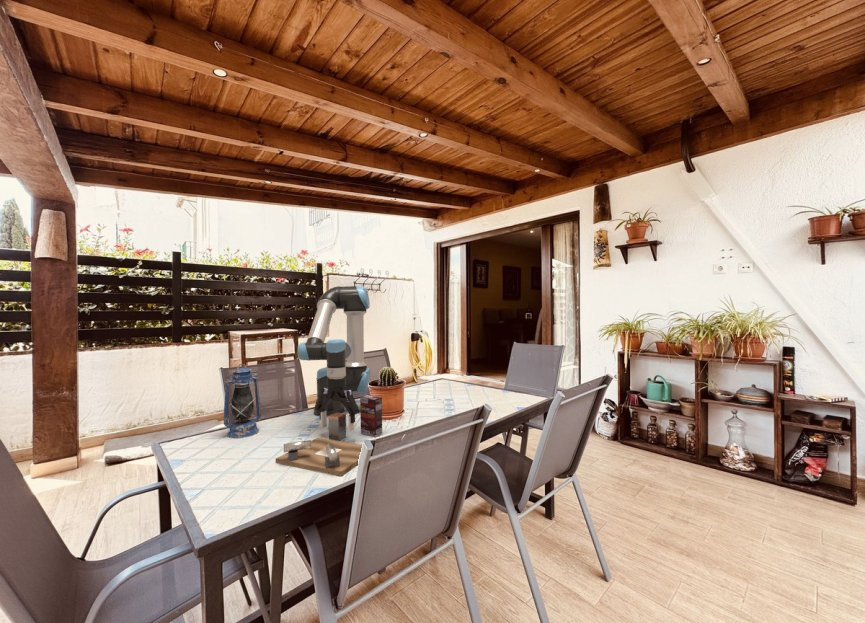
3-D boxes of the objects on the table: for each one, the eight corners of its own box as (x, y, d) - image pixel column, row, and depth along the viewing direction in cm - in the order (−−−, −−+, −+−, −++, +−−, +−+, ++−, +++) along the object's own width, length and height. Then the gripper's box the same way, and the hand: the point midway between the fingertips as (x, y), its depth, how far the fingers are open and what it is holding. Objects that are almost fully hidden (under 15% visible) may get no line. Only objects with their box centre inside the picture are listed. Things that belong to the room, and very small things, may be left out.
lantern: (230, 441, 152) (228, 368, 151) (218, 434, 160) (216, 365, 159) (267, 431, 164) (265, 363, 163) (255, 425, 172) (253, 360, 171)
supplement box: (360, 434, 159) (359, 396, 159) (367, 430, 163) (367, 394, 163) (375, 437, 154) (375, 399, 154) (383, 434, 158) (382, 396, 158)
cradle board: (317, 441, 151) (317, 436, 151) (377, 450, 140) (377, 446, 140) (275, 462, 131) (275, 457, 131) (341, 476, 120) (341, 470, 120)
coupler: (336, 436, 157) (335, 412, 157) (346, 437, 155) (346, 413, 155) (328, 440, 152) (328, 415, 152) (338, 442, 150) (338, 417, 150)
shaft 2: (323, 459, 129) (323, 444, 129) (336, 457, 131) (336, 442, 131) (326, 470, 121) (326, 454, 121) (340, 468, 122) (340, 451, 122)
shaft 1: (310, 453, 135) (310, 438, 135) (311, 457, 131) (311, 442, 131) (283, 457, 132) (283, 442, 132) (283, 462, 128) (283, 446, 128)
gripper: (306, 377, 154) (306, 428, 154) (356, 381, 145) (357, 435, 145) (318, 374, 161) (318, 423, 161) (367, 377, 151) (368, 429, 152)
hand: (337, 429), depth 153 cm, fingers open, 13 cm apart
